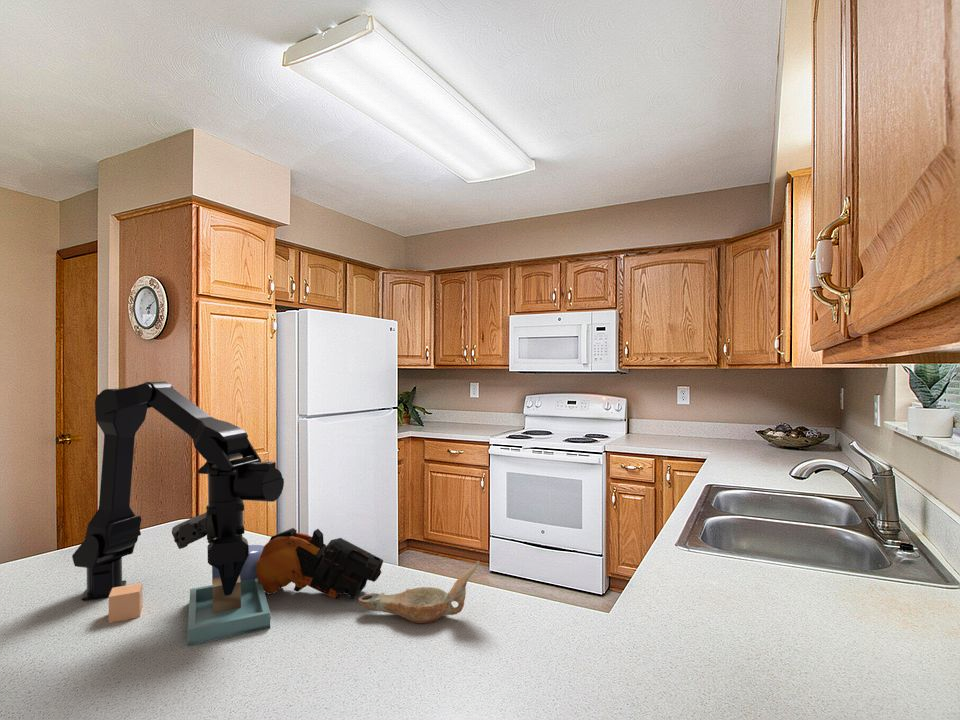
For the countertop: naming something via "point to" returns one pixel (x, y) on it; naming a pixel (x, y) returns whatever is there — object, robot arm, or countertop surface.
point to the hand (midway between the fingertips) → (226, 585)
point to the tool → (315, 564)
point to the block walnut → (224, 601)
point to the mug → (246, 564)
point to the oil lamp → (421, 601)
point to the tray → (227, 614)
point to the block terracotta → (125, 602)
